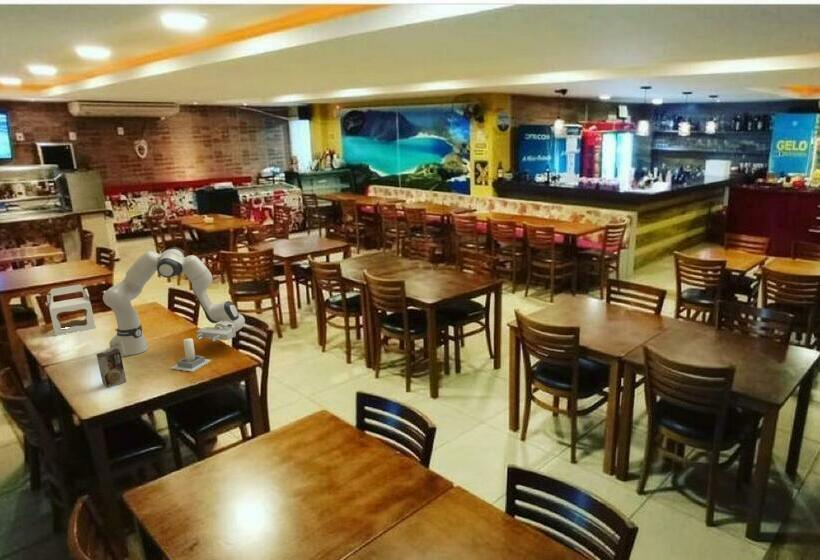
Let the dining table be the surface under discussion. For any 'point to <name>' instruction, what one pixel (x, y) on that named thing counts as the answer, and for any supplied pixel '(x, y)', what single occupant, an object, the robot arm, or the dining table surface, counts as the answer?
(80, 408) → the dining table surface
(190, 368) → the socket
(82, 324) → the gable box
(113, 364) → the coffee box
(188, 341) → the peg
